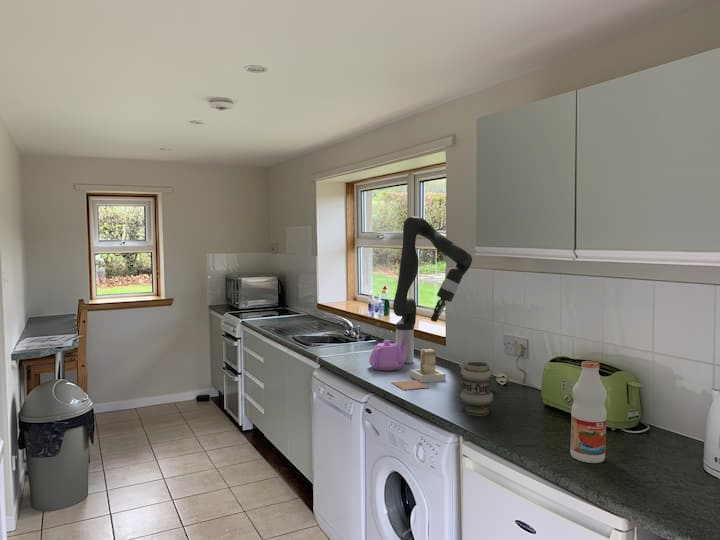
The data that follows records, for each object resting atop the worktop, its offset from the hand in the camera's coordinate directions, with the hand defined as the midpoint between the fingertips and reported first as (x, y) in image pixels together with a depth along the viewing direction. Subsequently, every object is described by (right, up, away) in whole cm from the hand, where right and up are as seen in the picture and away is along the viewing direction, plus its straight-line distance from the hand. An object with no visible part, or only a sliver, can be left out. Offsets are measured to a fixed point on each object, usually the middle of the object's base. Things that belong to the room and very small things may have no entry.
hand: (433, 321), depth 254 cm
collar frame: (-4, -25, -7) cm, 27 cm away
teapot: (-20, -25, +10) cm, 33 cm away
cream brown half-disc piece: (+14, -27, -20) cm, 36 cm away
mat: (-13, -26, -20) cm, 35 cm away
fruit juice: (+32, -31, -96) cm, 106 cm away
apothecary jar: (+8, -28, -55) cm, 63 cm away
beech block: (-4, -25, -7) cm, 27 cm away
